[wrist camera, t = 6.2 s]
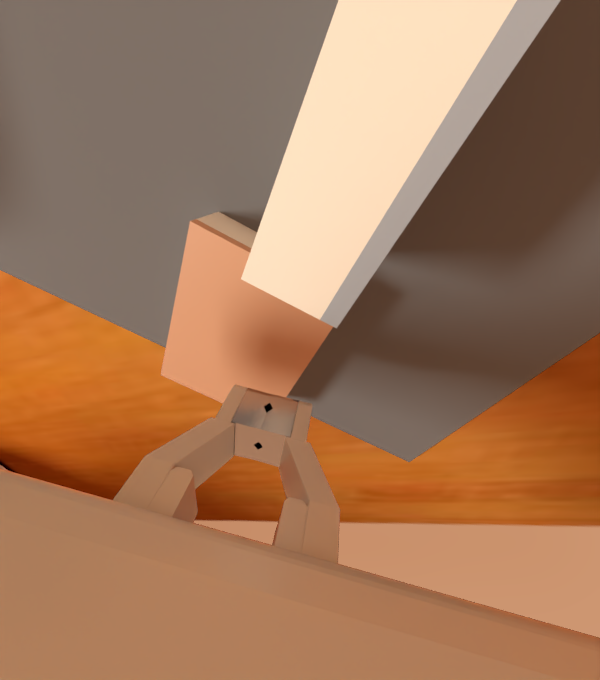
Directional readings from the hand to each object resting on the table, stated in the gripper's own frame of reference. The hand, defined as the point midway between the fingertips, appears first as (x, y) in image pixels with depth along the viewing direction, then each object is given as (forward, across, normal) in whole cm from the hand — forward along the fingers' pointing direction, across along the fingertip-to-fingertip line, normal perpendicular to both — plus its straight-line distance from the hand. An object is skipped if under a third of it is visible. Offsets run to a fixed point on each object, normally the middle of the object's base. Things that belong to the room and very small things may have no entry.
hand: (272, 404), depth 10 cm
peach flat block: (+3, -1, 0) cm, 3 cm away
